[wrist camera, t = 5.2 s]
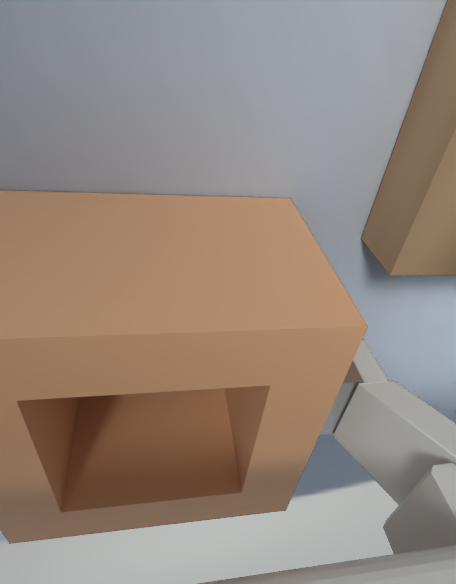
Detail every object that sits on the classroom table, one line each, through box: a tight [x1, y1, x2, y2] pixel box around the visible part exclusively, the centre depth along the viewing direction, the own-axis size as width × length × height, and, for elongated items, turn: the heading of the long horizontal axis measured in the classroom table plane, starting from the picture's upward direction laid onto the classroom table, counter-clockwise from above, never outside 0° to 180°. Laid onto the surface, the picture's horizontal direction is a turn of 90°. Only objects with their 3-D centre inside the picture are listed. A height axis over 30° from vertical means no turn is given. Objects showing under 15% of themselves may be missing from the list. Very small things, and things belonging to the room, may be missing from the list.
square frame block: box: [0, 190, 368, 544], centre depth 8 cm, size 6×6×4 cm
